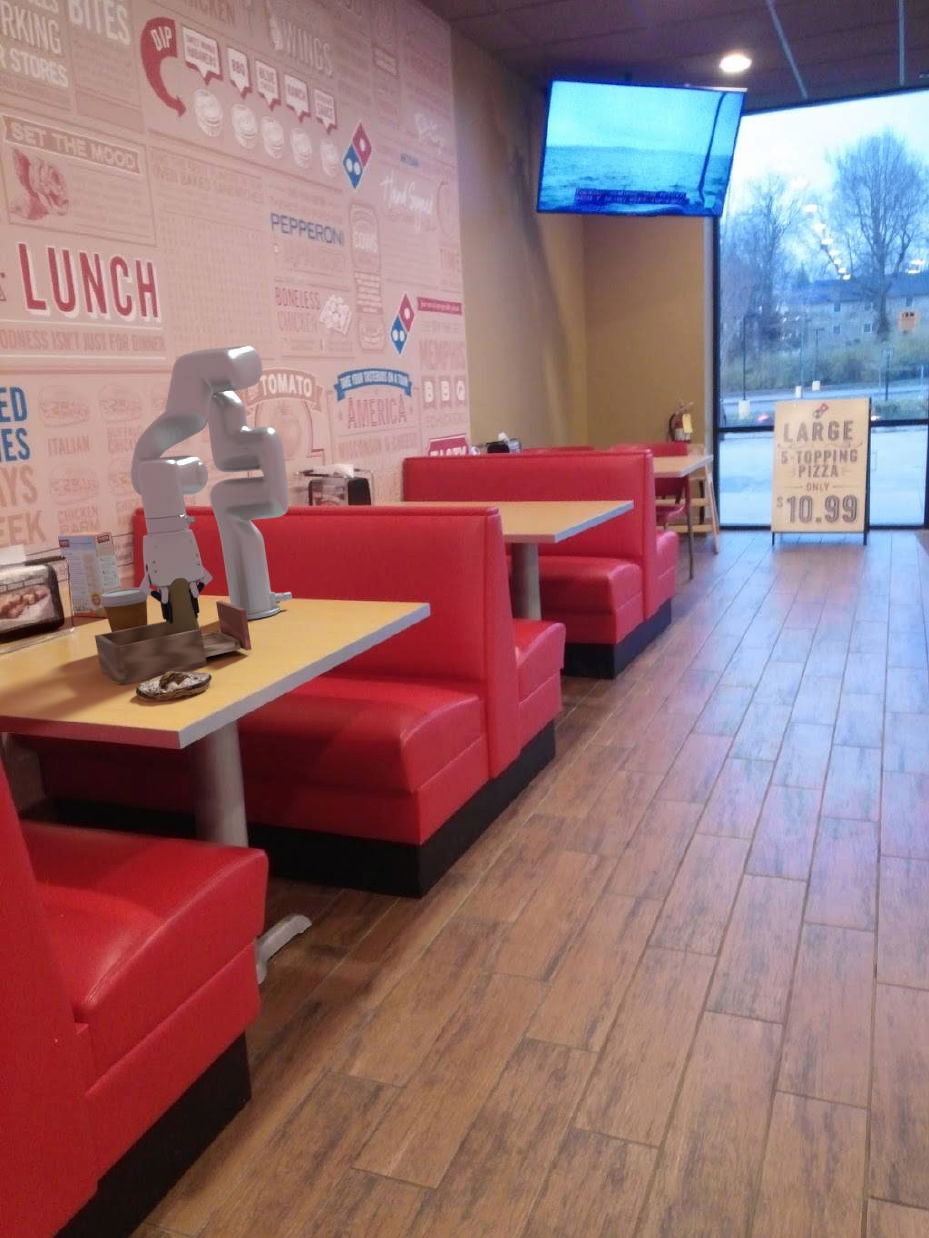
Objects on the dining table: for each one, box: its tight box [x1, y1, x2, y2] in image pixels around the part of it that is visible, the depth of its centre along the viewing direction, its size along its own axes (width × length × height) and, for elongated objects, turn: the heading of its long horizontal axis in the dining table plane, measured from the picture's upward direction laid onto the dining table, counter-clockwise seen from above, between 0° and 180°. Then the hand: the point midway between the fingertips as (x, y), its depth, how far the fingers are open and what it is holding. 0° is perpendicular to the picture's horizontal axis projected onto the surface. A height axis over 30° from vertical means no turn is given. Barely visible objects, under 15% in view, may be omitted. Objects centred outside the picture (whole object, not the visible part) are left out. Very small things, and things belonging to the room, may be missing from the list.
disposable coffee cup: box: [100, 587, 149, 632], centre depth 205 cm, size 10×10×12 cm
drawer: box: [202, 600, 252, 658], centre depth 191 cm, size 16×14×8 cm
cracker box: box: [57, 531, 122, 619], centre depth 245 cm, size 14×6×21 cm, turn 58°
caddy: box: [94, 620, 208, 686], centre depth 186 cm, size 16×15×7 cm
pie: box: [135, 671, 212, 703], centre depth 169 cm, size 15×15×4 cm
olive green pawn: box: [167, 578, 201, 635], centre depth 188 cm, size 6×6×11 cm
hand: (182, 619), depth 189 cm, fingers closed on olive green pawn, 4 cm apart
